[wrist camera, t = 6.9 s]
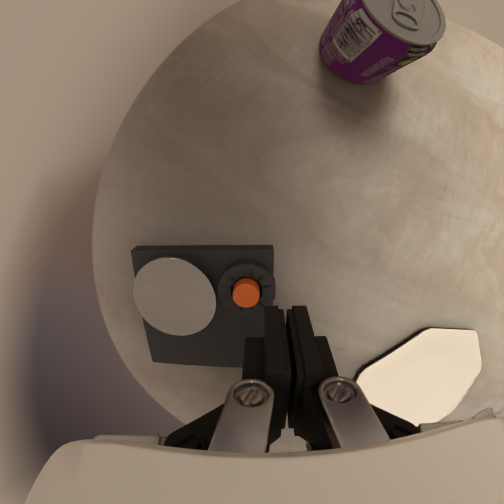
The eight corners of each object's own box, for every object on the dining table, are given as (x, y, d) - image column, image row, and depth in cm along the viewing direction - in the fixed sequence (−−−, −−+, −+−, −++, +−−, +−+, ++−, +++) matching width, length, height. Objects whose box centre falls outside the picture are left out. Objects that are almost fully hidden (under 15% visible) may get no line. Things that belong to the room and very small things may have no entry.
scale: (156, 354, 34) (149, 369, 31) (136, 245, 29) (125, 255, 26) (271, 358, 33) (272, 375, 30) (274, 244, 29) (276, 255, 26)
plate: (378, 318, 31) (382, 325, 30) (497, 326, 32) (502, 331, 30) (319, 439, 39) (320, 446, 37) (431, 429, 39) (434, 435, 38)
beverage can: (384, 94, 23) (453, 67, 12) (314, 76, 23) (351, 27, 12) (387, 35, 21) (446, -10, 10) (321, 16, 21) (353, -49, 10)
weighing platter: (142, 330, 29) (140, 333, 29) (128, 256, 26) (126, 257, 26) (219, 335, 29) (218, 337, 28) (214, 256, 26) (213, 257, 26)
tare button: (234, 300, 28) (233, 307, 26) (233, 277, 27) (231, 284, 26) (259, 301, 28) (259, 308, 26) (259, 277, 27) (259, 284, 26)
